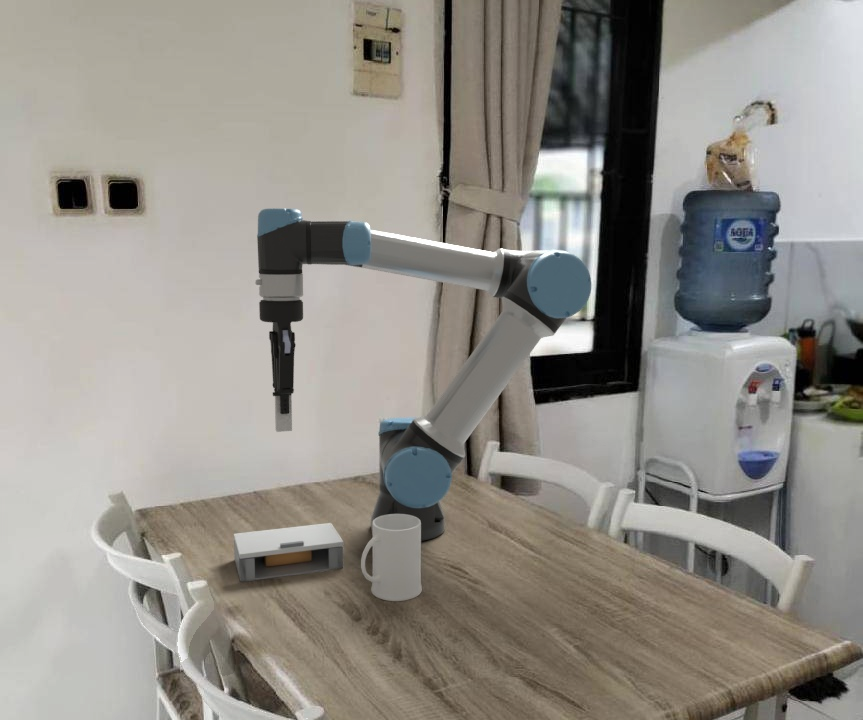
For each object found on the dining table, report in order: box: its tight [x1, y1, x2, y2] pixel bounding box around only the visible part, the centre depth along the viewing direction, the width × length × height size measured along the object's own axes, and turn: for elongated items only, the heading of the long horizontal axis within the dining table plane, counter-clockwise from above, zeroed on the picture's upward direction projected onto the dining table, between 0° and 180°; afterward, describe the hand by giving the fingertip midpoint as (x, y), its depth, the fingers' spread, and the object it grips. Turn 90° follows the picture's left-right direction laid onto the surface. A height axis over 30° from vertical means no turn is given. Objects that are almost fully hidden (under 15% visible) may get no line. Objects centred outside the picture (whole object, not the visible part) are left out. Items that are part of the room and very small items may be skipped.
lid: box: [233, 522, 344, 559], centre depth 138 cm, size 18×10×1 cm, turn 109°
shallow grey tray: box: [233, 539, 344, 583], centre depth 139 cm, size 18×10×4 cm, turn 109°
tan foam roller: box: [264, 550, 312, 567], centre depth 138 cm, size 8×4×4 cm
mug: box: [360, 514, 423, 602], centre depth 127 cm, size 12×8×12 cm
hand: (283, 430), depth 137 cm, fingers closed
